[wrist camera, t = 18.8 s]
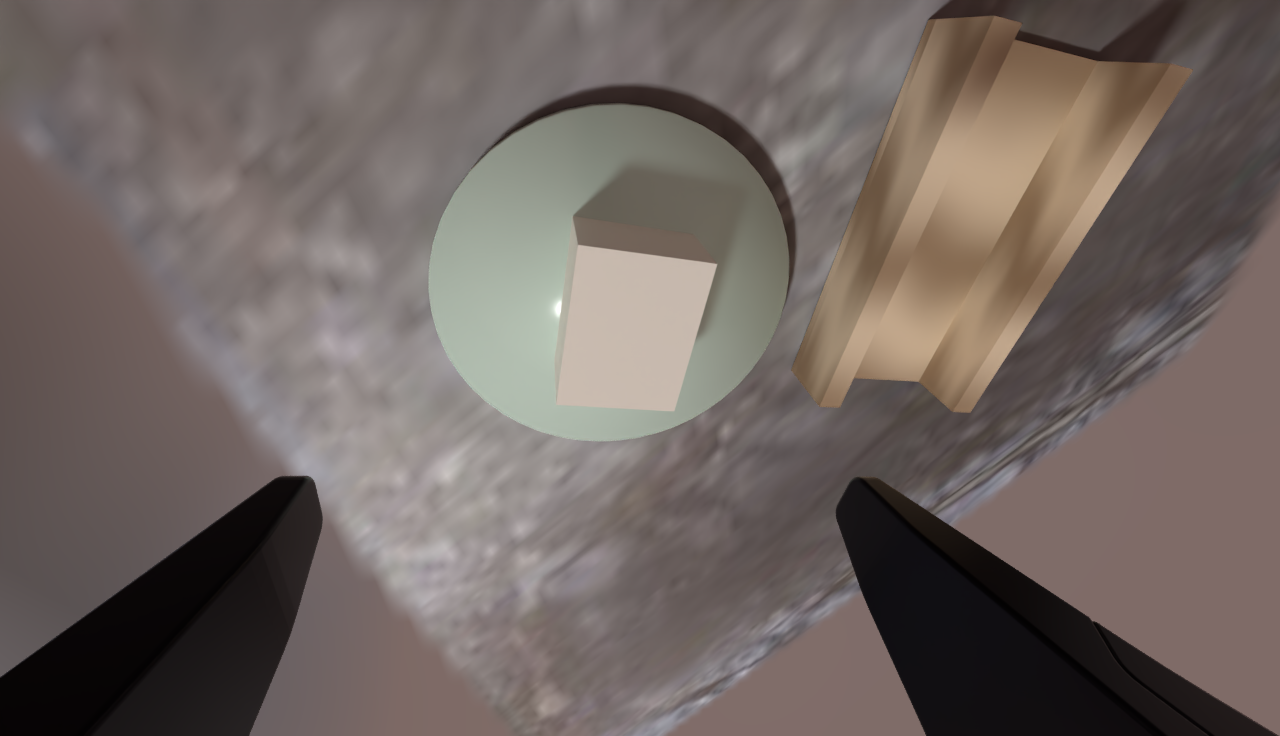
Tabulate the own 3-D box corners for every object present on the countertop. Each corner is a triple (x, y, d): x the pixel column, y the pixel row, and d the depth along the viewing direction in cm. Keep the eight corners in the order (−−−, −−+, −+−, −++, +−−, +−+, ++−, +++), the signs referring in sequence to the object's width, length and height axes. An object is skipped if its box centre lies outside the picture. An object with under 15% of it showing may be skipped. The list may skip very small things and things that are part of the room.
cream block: (572, 215, 17) (578, 245, 15) (693, 234, 18) (717, 263, 16) (554, 360, 20) (556, 405, 18) (658, 369, 21) (674, 411, 19)
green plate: (421, 64, 15) (415, 65, 14) (831, 139, 18) (842, 142, 17) (440, 426, 22) (436, 438, 21) (730, 433, 25) (735, 443, 25)
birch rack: (928, 19, 16) (994, 15, 14) (1108, 66, 18) (1193, 69, 16) (791, 370, 24) (819, 406, 21) (929, 378, 26) (970, 412, 23)
